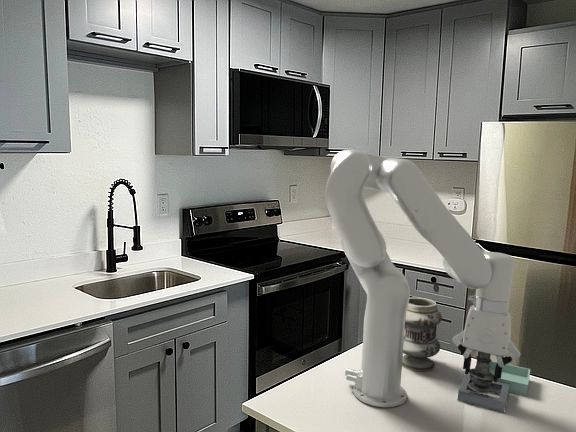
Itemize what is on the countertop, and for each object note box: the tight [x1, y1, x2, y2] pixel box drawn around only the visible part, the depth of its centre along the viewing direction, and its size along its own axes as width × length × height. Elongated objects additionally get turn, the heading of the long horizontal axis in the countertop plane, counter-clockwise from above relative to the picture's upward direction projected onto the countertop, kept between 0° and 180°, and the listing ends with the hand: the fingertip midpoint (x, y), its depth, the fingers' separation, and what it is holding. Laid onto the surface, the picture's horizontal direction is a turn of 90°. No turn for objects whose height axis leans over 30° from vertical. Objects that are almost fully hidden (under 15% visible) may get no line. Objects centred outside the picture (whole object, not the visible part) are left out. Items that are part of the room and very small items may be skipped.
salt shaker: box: [468, 351, 494, 394], centre depth 120 cm, size 6×6×12 cm
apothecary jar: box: [402, 297, 443, 372], centre depth 137 cm, size 12×12×18 cm
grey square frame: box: [457, 373, 510, 413], centre depth 121 cm, size 10×10×2 cm
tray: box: [489, 360, 531, 397], centre depth 129 cm, size 10×10×3 cm
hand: (481, 375), depth 120 cm, fingers closed on salt shaker, 5 cm apart
